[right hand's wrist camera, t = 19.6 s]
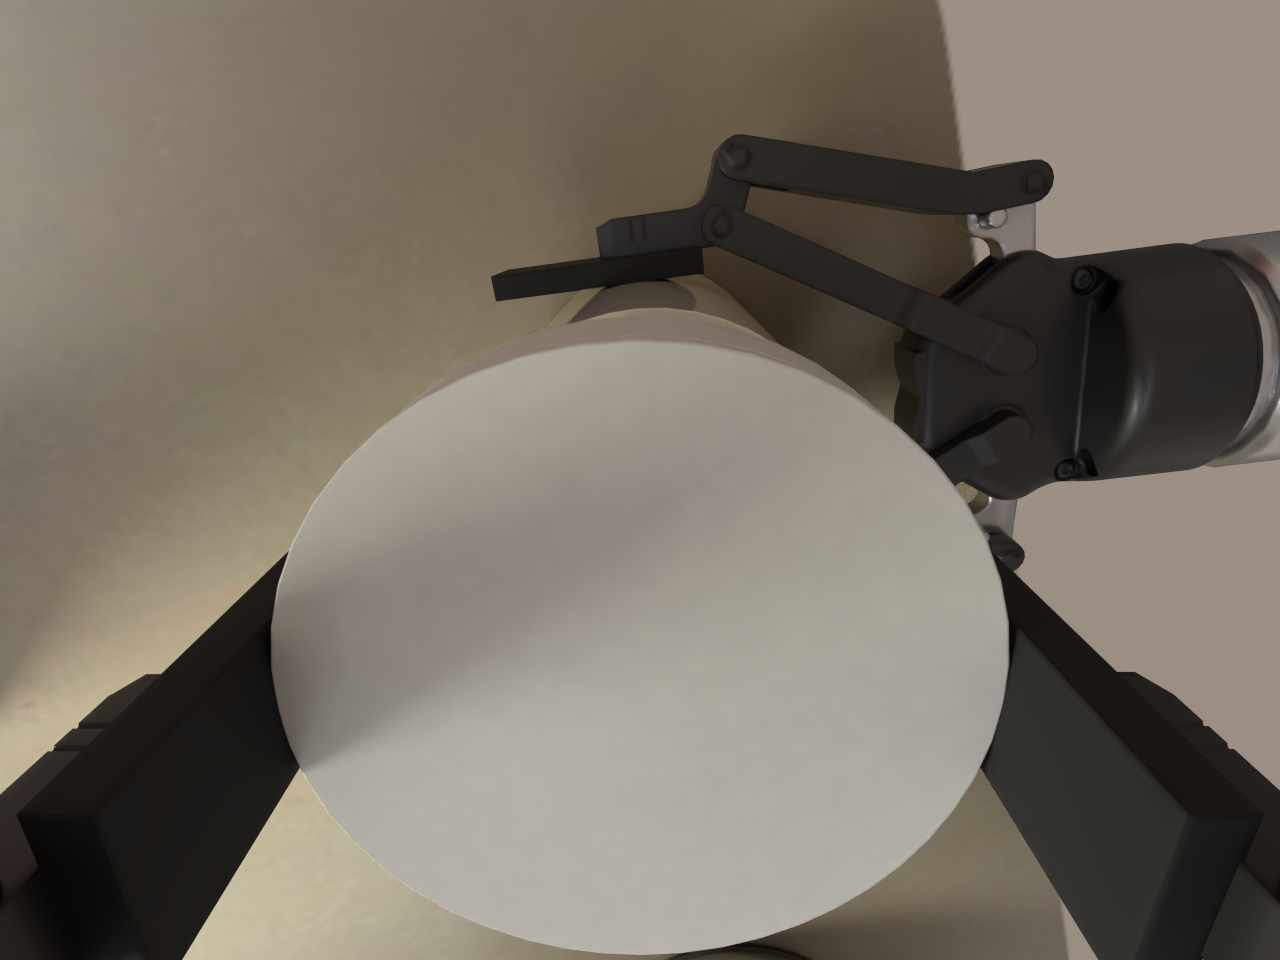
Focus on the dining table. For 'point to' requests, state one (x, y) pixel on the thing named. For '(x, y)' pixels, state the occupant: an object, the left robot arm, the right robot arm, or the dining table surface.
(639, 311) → the jar
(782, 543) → the lid
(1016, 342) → the left robot arm
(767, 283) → the dining table surface
